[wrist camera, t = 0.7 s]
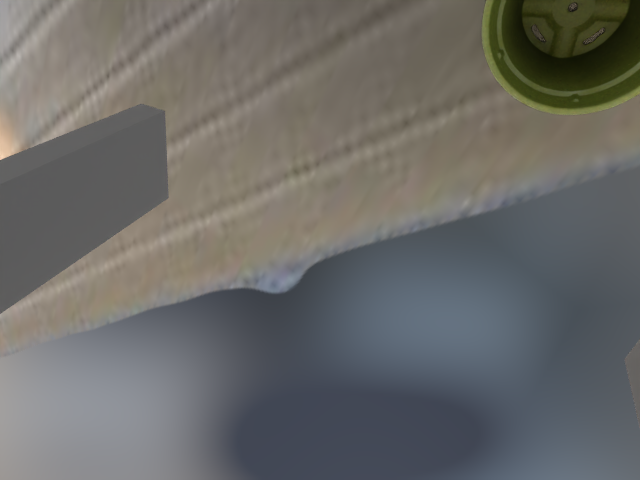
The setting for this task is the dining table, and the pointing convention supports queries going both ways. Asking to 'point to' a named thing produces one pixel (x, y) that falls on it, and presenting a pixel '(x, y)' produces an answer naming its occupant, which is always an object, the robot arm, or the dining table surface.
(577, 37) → the plant pot
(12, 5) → the dining table surface
